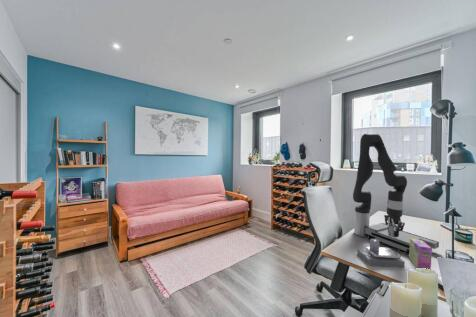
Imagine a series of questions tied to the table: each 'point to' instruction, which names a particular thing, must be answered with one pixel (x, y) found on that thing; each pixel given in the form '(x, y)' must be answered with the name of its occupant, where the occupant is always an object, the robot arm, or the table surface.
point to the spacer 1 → (374, 245)
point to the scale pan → (385, 253)
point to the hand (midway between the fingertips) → (393, 234)
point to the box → (420, 253)
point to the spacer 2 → (391, 230)
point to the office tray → (395, 238)
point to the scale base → (379, 259)
